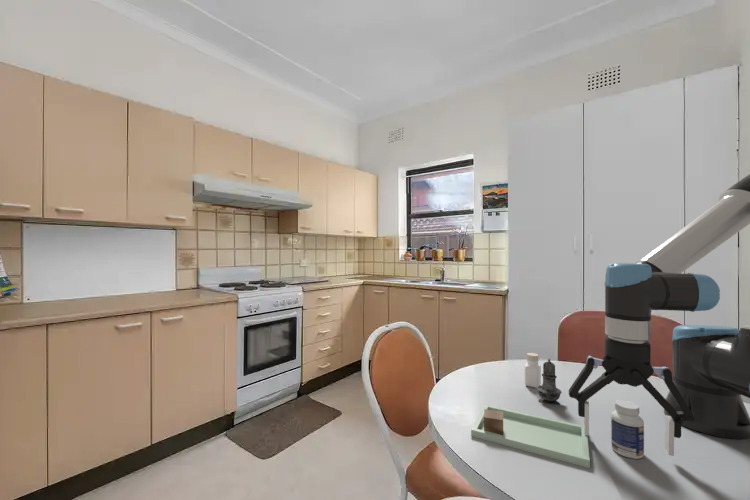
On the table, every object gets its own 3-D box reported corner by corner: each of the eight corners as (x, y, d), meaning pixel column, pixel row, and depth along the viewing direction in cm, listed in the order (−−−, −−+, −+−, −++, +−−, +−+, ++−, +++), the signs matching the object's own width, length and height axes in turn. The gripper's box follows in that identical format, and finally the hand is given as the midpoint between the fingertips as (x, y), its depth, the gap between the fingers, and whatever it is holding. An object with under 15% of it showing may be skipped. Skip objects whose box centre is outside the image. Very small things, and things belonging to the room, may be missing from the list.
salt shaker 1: (527, 381, 106) (527, 351, 106) (541, 384, 104) (541, 353, 104) (524, 385, 103) (524, 354, 103) (538, 389, 100) (538, 357, 100)
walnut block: (503, 429, 77) (502, 411, 77) (503, 438, 73) (503, 420, 73) (484, 426, 78) (484, 409, 78) (483, 435, 74) (483, 417, 74)
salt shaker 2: (565, 409, 88) (564, 362, 88) (540, 406, 89) (540, 361, 89) (557, 399, 93) (557, 356, 93) (534, 397, 95) (534, 354, 95)
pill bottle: (646, 463, 65) (645, 413, 65) (612, 454, 68) (611, 406, 68) (642, 449, 70) (641, 402, 70) (610, 441, 73) (610, 396, 73)
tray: (586, 435, 75) (586, 426, 75) (589, 471, 63) (589, 460, 63) (484, 412, 86) (484, 404, 86) (471, 438, 74) (471, 429, 74)
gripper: (703, 343, 66) (702, 451, 66) (557, 327, 78) (556, 417, 78) (718, 353, 59) (716, 472, 59) (556, 334, 72) (555, 432, 72)
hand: (625, 442), depth 69 cm, fingers open, 13 cm apart
